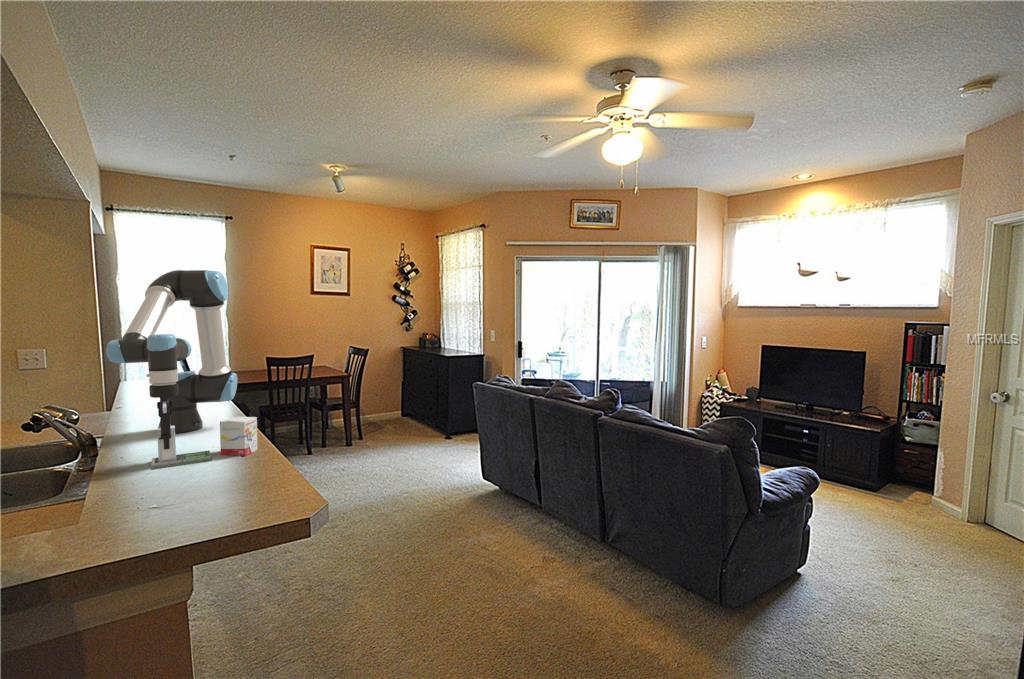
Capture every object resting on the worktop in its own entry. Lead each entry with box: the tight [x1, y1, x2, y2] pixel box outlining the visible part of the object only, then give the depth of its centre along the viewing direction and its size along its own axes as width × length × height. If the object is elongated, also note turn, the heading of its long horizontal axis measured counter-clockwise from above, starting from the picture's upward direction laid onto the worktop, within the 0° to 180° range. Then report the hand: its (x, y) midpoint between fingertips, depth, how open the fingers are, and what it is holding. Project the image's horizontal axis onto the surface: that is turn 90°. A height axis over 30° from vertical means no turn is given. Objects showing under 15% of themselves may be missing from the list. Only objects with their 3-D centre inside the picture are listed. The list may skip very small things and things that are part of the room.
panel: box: [150, 450, 213, 471], centre depth 164 cm, size 13×16×2 cm
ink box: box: [219, 416, 258, 457], centre depth 174 cm, size 9×9×12 cm
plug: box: [156, 424, 177, 463], centre depth 162 cm, size 4×4×12 cm
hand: (167, 456), depth 162 cm, fingers closed on plug, 4 cm apart
